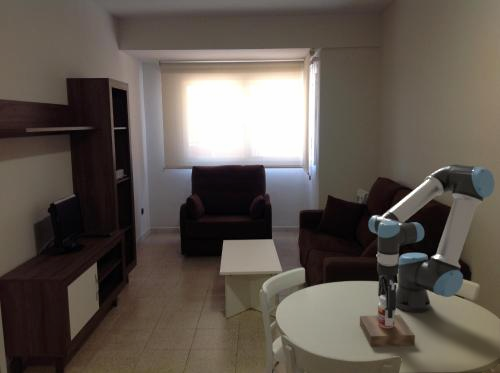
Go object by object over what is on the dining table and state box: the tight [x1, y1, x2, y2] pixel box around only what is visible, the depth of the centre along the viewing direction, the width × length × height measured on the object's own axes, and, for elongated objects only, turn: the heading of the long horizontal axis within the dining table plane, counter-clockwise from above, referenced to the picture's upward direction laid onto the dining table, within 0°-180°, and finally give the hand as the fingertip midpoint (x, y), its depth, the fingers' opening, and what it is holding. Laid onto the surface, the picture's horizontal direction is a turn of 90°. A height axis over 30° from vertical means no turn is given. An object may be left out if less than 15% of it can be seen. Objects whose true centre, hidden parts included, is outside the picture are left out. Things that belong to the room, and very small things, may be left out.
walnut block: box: [359, 314, 416, 347], centre depth 168 cm, size 16×16×4 cm
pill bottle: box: [377, 295, 396, 328], centre depth 167 cm, size 6×6×11 cm
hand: (386, 320), depth 168 cm, fingers closed on pill bottle, 6 cm apart
